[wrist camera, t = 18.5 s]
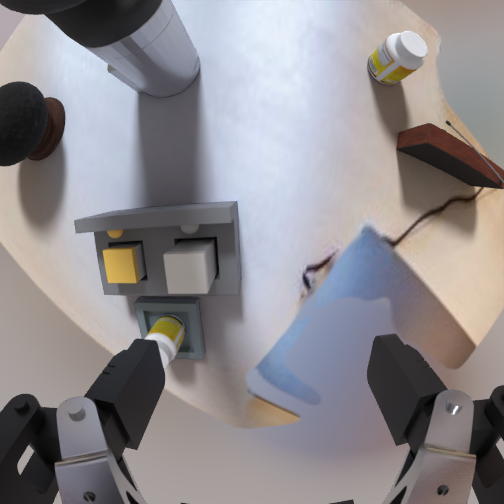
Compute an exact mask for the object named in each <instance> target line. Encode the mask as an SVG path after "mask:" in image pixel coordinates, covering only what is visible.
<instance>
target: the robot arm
mask: <svg viewBox="0 0 504 504" xmlns="http://www.w3.org/2000/svg"><path fill="white" fill-rule="evenodd" d="M0 4H1V5H3V6H5V7H6V8H8V9H10V10H13V11H16V12H20V13H23V14H33V15H39V14H44V15H45V16H46V17H48V18H49V19H50V20H51V21H52V22H53V23H54V24H55V25H57V26H58V27H59V28H60V29H61V30H62V31H63V32H64V33H65V34H66V35H67V36H68V37H70V38H71V39H73V40H74V41H76V42H77V43H79V44H80V45H82V46H83V47H85V48H86V49H88V50H89V51H91V52H92V53H93V54H95V55H96V56H98V57H99V58H101V59H102V60H104V61H105V62H106V63H108V72H109V73H111V74H112V75H114V76H115V77H117V78H118V79H119V80H121V81H122V82H124V83H125V84H127V85H128V86H129V87H131V88H132V89H134V90H135V91H137V92H138V93H141V92H146V93H148V94H150V95H152V96H156V97H167V96H172V95H175V94H177V93H179V92H181V91H183V90H184V89H186V88H187V87H188V86H189V85H190V84H191V83H192V82H193V81H194V79H195V78H196V76H197V74H198V71H199V67H200V60H199V57H198V54H197V51H196V49H195V47H194V46H193V43H192V41H191V39H190V37H189V35H188V33H187V31H186V29H185V27H184V25H183V23H182V21H181V19H180V17H179V15H178V13H177V11H176V9H175V7H174V5H173V3H172V1H171V0H0ZM367 380H368V384H369V386H370V388H371V390H372V392H373V395H374V397H375V399H376V401H377V403H378V405H379V408H380V410H381V412H382V414H383V416H384V419H385V421H386V423H387V425H388V428H389V430H390V432H391V435H392V437H393V439H394V442H395V444H396V446H398V445H401V444H405V443H408V444H409V446H410V448H409V450H408V451H407V454H406V456H405V459H404V461H403V464H402V466H401V468H400V471H399V473H398V475H397V477H396V480H395V482H394V484H393V486H392V488H391V490H390V492H389V494H388V495H387V497H386V499H385V500H384V502H383V503H382V504H467V502H468V498H469V494H470V490H471V486H472V487H473V489H474V492H475V494H476V496H477V499H478V501H479V504H504V459H503V457H502V455H501V453H500V452H499V450H498V448H497V446H496V443H497V442H498V441H499V439H500V438H501V437H502V439H503V441H504V385H503V386H498V387H497V388H495V389H494V390H493V392H492V394H491V396H490V398H489V399H485V400H475V401H472V400H471V398H470V397H469V396H468V395H467V394H466V393H464V392H462V391H459V390H454V389H450V390H448V389H447V388H446V386H445V385H444V384H443V382H442V381H441V380H440V378H439V377H438V376H437V375H436V373H435V372H434V371H433V369H432V368H431V367H429V364H428V363H427V362H426V361H424V358H423V357H422V356H421V354H420V353H419V352H418V351H417V350H415V349H414V348H412V347H411V346H409V345H404V344H403V342H402V341H401V340H400V339H399V337H398V336H397V335H396V334H389V335H380V336H376V337H375V339H374V341H373V346H372V351H371V356H370V360H369V365H368V369H367ZM164 385H165V372H164V368H163V364H162V359H161V355H160V351H159V346H158V343H157V341H156V340H148V339H135V340H134V342H133V343H132V344H131V346H130V347H129V348H128V350H123V351H121V352H120V353H118V354H117V355H115V356H114V357H113V358H112V359H111V361H110V362H109V364H108V365H107V367H105V369H104V370H103V371H102V373H101V374H100V375H99V377H98V378H97V380H96V381H95V382H94V383H93V385H92V386H91V387H90V389H89V390H88V392H87V393H86V394H85V396H84V397H73V398H70V399H67V400H65V401H64V402H63V403H61V404H60V406H59V407H58V408H47V407H41V406H40V404H39V402H38V401H37V399H36V398H35V397H34V396H33V395H30V394H20V395H18V396H16V397H14V398H12V399H11V400H10V401H9V402H8V404H7V405H6V406H5V407H4V409H3V410H2V411H1V412H0V504H53V502H54V499H55V497H56V495H57V493H58V491H60V496H61V499H62V504H147V503H146V501H145V500H144V498H143V496H142V495H141V493H140V491H139V489H138V487H137V484H136V482H135V480H134V478H133V476H132V474H131V471H130V469H129V467H128V465H127V462H126V460H125V457H124V455H123V451H124V449H125V447H127V448H131V449H135V450H137V449H138V447H139V444H140V442H141V440H142V437H143V435H144V432H145V430H146V428H147V425H148V423H149V420H150V418H151V416H152V413H153V411H154V409H155V407H156V404H157V402H158V400H159V398H160V395H161V393H162V390H163V388H164ZM28 445H30V447H31V448H32V449H33V450H34V453H33V455H32V456H31V458H30V459H29V461H28V463H27V465H26V466H25V468H24V470H23V472H22V473H21V475H20V474H19V472H18V469H17V464H18V461H19V459H20V458H21V456H22V454H23V453H24V451H25V450H26V448H27V446H28ZM181 504H186V503H181ZM331 504H354V502H353V500H348V501H342V502H337V503H331Z"/></svg>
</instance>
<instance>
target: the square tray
mask: <svg viewBox="0 0 504 504" xmlns="http://www.w3.org/2000/svg"><path fill="white" fill-rule="evenodd" d="M134 305H135V310H136V315H137V319H138V324H139V328H140V332H141V337H142V339H145V337H146V336H147V334H148V333H149V332H150V330H151V329H152V327H153V326H154V324H155V323H156V321H157V320H158V319H159V318H160V317H161V316H163V315H166V314H172V315H175V316H177V317H179V318H180V319H181V320H182V321H183V323H184V324H185V327H186V334H185V337H184V339H183V341H182V343H181V345H180V348H179V350H178V352H177V354H176V356H175V358H179V359H204V356H205V346H204V339H203V331H202V324H201V316H200V308H199V300H198V298H138V299H137V300H136V301H135V303H134Z"/></svg>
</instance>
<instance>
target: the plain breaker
mask: <svg viewBox="0 0 504 504" xmlns="http://www.w3.org/2000/svg"><path fill="white" fill-rule="evenodd" d="M163 257H164V265H165V273H166V280H167V287H168V294H207V293H208V291H209V289H210V287H211V284H212V282H213V280H214V278H215V275H216V273H217V271H218V258H217V244H216V237H209V238H188V239H183V240H182V241H180V242H179V243H178V244H176V245H175V246H174V247H172V248H171V249H170V250H169V251H167V252H166V253H165V254H163Z"/></svg>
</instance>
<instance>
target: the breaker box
mask: <svg viewBox="0 0 504 504" xmlns="http://www.w3.org/2000/svg"><path fill="white" fill-rule="evenodd" d="M74 222H75V230H76V233H85V232H94V236H95V244H96V251H97V257H98V263H99V269H100V275H101V280H102V285H103V290H104V295H130V296H225V295H238V294H239V288H240V282H241V267H240V248H239V229H238V208H237V201H231V202H213V203H197V204H183V205H170V206H158V207H147V208H136V209H127V210H117V211H111V212H107V213H102V214H98V215H94V216H90V217H86V218H82V219H78V220H74ZM200 237H217V245H218V259H219V265H218V271H217V273H216V275H215V278H214V280H213V282H212V284H211V287H210V289H209V291H208V293H207V294H168V287H167V280H166V273H165V265H164V257H163V254H165V253H166V252H167V251H169V250H170V249H171V248H172V247H174V246H175V245H176V244H178V243H179V242H180V241H182V240H183V239H187V238H200ZM141 240H143V248H144V256H145V263H146V271H147V274H146V275H145V276H144V277H143V278H142V279H141V280H140V281H138V282H137V283H108V279H107V274H106V268H105V262H104V256H103V250H105V249H107V248H109V247H111V246H113V245H115V244H117V243H119V242H123V241H141Z"/></svg>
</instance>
